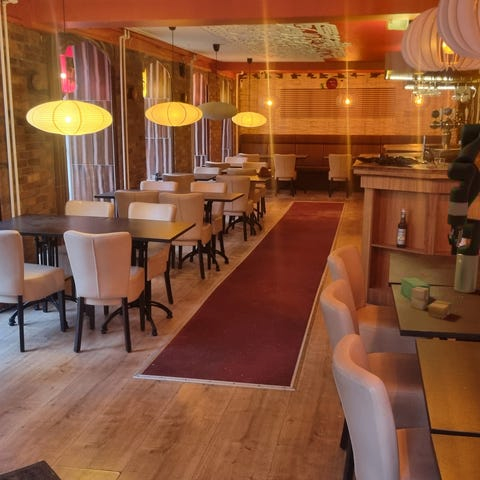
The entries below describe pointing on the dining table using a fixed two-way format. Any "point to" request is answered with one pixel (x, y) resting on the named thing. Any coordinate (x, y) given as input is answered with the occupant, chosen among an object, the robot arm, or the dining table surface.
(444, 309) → the oak pillar
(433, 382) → the dining table surface
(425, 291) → the birch pillar
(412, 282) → the box
